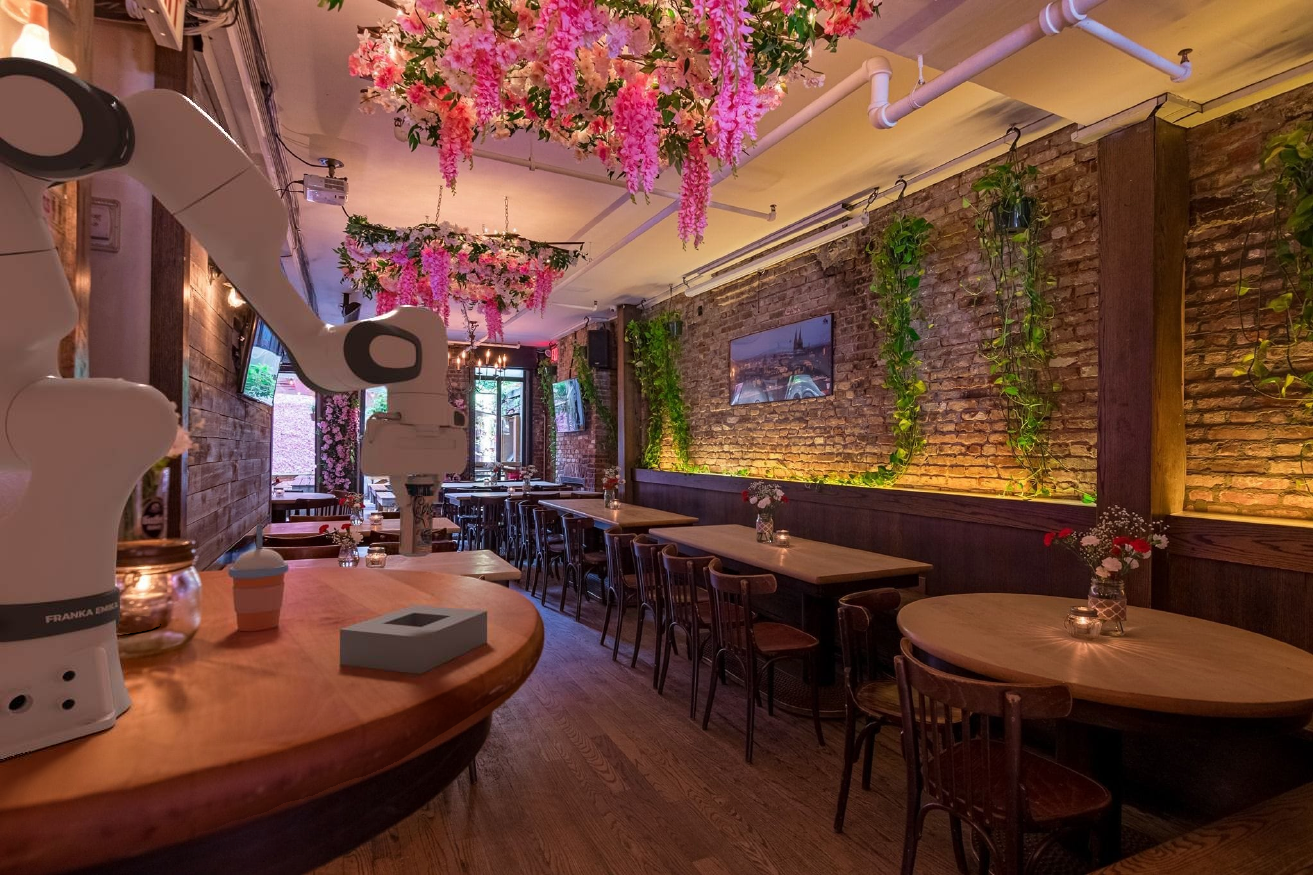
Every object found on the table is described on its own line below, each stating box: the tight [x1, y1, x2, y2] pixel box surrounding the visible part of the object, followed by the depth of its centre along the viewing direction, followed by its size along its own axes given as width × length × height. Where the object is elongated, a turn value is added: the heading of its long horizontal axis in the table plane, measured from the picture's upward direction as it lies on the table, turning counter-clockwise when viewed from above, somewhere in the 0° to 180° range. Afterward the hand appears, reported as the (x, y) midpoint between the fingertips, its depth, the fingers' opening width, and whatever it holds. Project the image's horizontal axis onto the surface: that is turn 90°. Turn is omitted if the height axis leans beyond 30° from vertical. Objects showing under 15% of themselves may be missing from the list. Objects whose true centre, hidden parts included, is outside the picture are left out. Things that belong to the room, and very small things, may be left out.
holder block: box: [339, 604, 488, 675], centre depth 99 cm, size 16×14×5 cm
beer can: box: [398, 475, 434, 558], centre depth 100 cm, size 5×5×12 cm
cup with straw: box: [227, 523, 289, 632], centre depth 115 cm, size 9×9×18 cm
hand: (417, 505), depth 100 cm, fingers closed on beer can, 5 cm apart
